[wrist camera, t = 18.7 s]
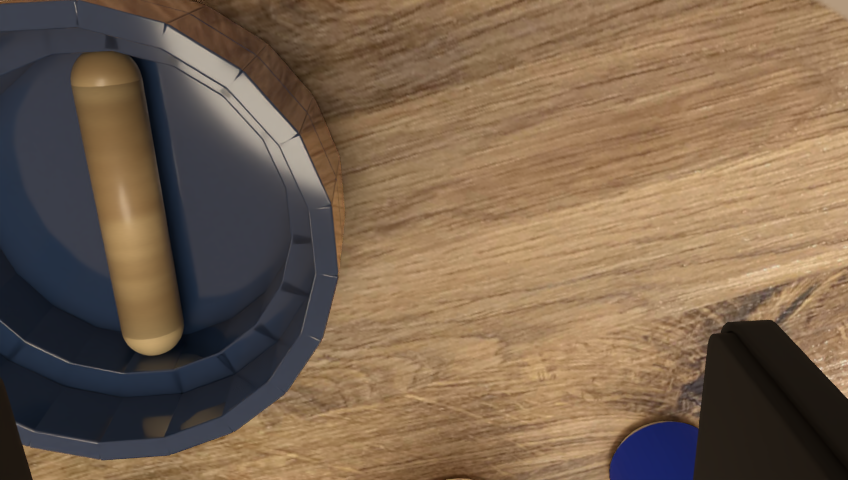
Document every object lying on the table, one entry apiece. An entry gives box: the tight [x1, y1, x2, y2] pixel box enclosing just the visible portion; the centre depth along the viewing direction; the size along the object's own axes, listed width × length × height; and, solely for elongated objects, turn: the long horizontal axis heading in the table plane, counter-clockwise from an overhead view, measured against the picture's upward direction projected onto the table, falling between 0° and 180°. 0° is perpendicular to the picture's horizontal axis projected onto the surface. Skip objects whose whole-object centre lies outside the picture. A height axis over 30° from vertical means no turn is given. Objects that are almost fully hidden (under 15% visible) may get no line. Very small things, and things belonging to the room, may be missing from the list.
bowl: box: [0, 0, 345, 460], centre depth 28 cm, size 16×16×6 cm
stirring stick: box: [70, 51, 184, 356], centre depth 30 cm, size 12×2×2 cm, turn 3°
